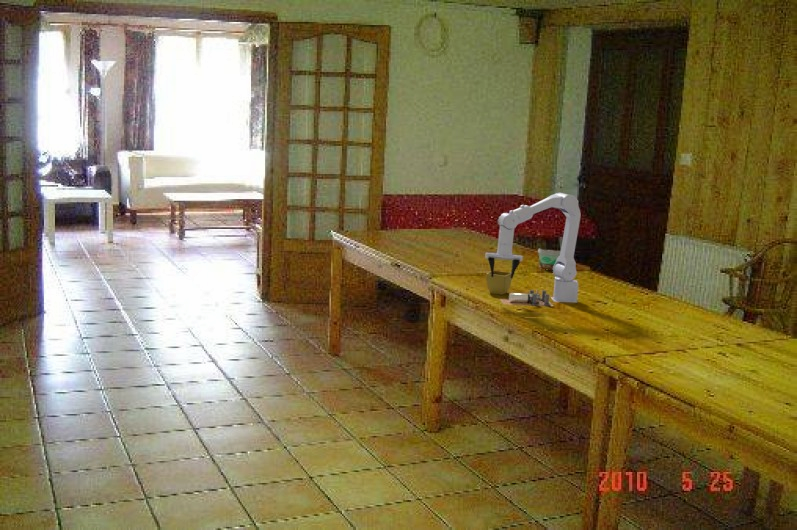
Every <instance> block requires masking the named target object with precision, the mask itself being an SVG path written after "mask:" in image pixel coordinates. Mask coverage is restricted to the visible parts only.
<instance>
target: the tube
mask: <svg viewBox="0 0 797 530" xmlns="http://www.w3.org/2000/svg"><path fill="white" fill-rule="evenodd" d="M508 299H509V302H519V303H532V294H529V293H520V292H519V293H517V292H516V293H515V292H510V293H508ZM540 299H541V294H537V300H536V303H540Z"/></svg>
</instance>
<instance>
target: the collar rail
mask: <svg viewBox="0 0 797 530" xmlns="http://www.w3.org/2000/svg"><path fill="white" fill-rule="evenodd" d="M535 291H536V293H535ZM528 292H529V293H528V294H532V303H531V305H533V307H535V306H536V307H537V306H538V304H537V303H536V300H537V294H539V289H536V290H534V289H529V291H528ZM540 301H542V302H544V306H542V305H541V304H539V305H540V306H539V307H552V306H551V305H550V304H549V301H550V294H549V293H547V290H545V289H544V290H543V289H542V290H541V295H540ZM531 305H530V306H531Z"/></svg>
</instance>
